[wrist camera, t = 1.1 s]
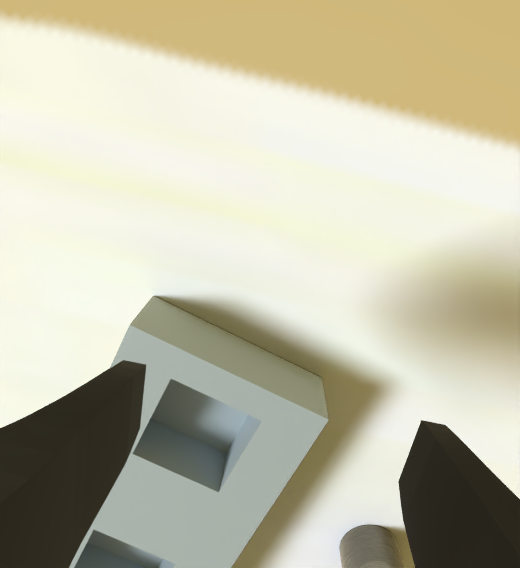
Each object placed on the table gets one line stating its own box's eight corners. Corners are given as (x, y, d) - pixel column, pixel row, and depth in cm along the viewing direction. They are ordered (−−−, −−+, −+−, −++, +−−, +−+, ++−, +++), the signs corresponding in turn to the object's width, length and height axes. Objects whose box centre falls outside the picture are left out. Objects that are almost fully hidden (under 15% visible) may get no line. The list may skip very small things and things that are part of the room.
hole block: (187, 590, 27) (173, 654, 24) (44, 530, 26) (9, 587, 23) (321, 377, 22) (328, 419, 19) (153, 295, 21) (129, 325, 18)
